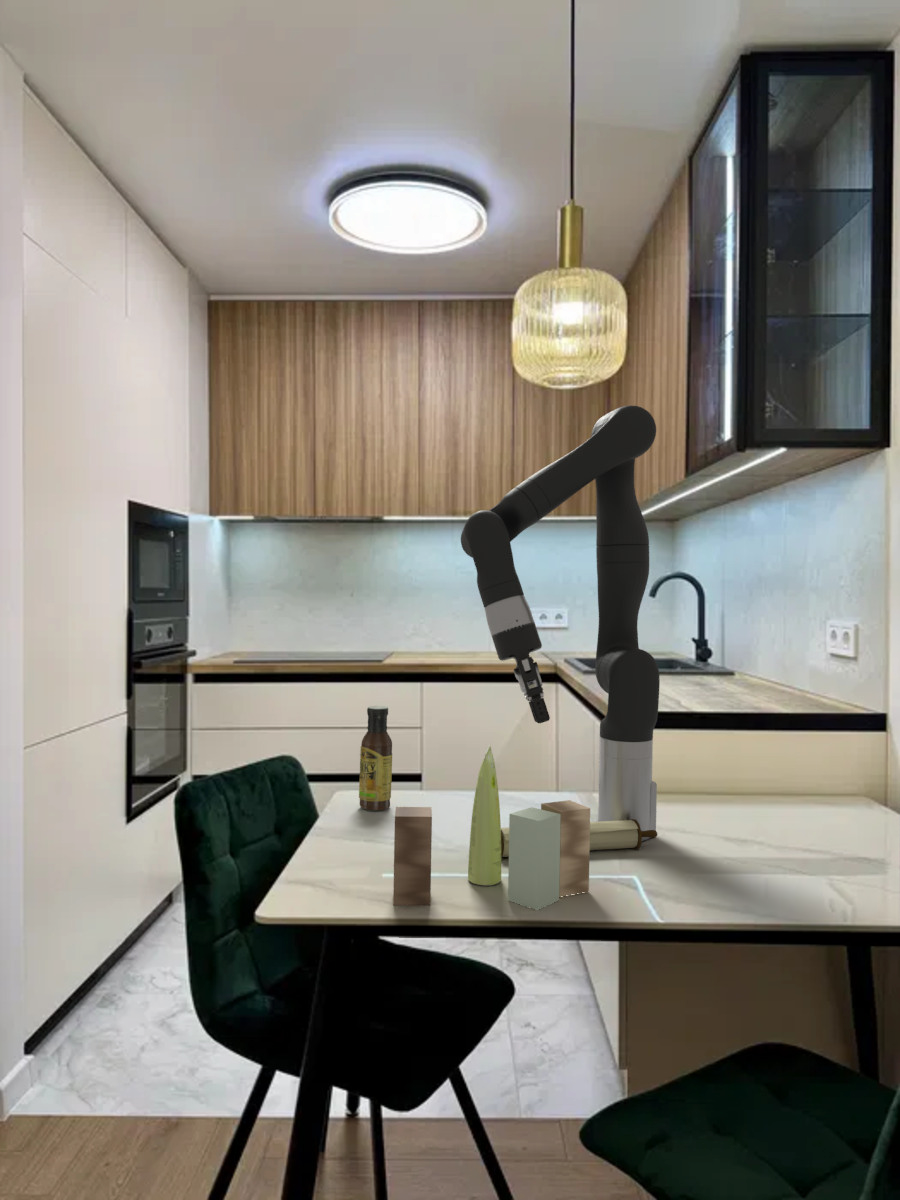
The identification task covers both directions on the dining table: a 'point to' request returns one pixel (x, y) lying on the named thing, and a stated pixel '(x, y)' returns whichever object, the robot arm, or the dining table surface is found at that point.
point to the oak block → (572, 845)
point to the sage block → (534, 857)
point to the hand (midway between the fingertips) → (542, 721)
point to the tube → (485, 827)
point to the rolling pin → (602, 835)
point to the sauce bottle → (376, 762)
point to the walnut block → (412, 856)
